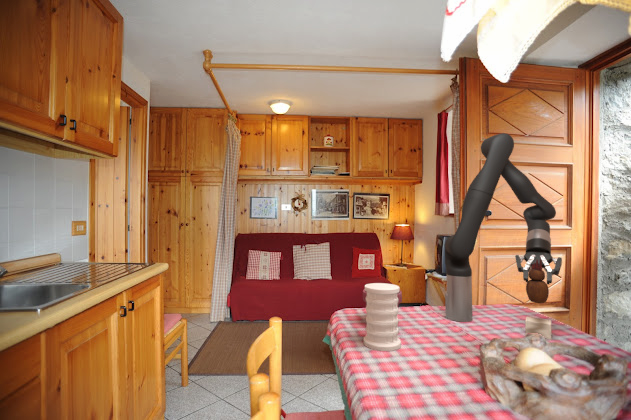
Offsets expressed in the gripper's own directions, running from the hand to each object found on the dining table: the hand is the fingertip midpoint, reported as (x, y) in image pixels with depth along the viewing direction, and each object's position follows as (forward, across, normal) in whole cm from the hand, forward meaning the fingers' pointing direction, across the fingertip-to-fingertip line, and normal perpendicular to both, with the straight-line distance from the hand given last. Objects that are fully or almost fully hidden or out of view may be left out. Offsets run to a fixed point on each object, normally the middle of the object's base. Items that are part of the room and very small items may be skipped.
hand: (537, 281), depth 109 cm
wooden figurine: (+4, 0, +6) cm, 8 cm away
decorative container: (+40, -39, -14) cm, 57 cm away
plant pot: (+28, -47, -2) cm, 55 cm away
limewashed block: (+12, 0, +14) cm, 18 cm away
